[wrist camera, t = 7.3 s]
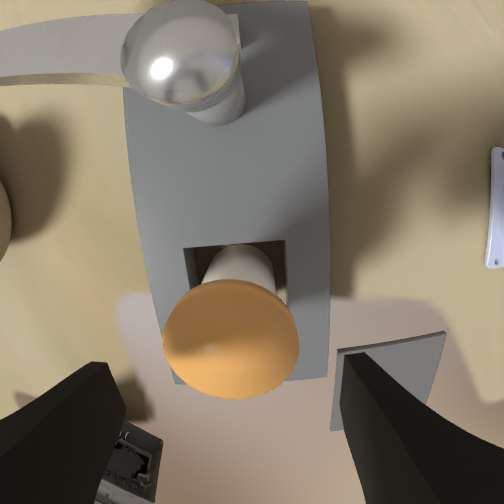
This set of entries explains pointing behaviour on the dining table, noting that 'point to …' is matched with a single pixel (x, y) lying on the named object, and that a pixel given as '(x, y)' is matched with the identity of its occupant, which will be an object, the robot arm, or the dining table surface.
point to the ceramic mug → (4, 221)
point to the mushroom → (233, 329)
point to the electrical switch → (131, 468)
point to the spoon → (132, 53)
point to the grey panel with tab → (242, 174)
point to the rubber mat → (396, 366)
